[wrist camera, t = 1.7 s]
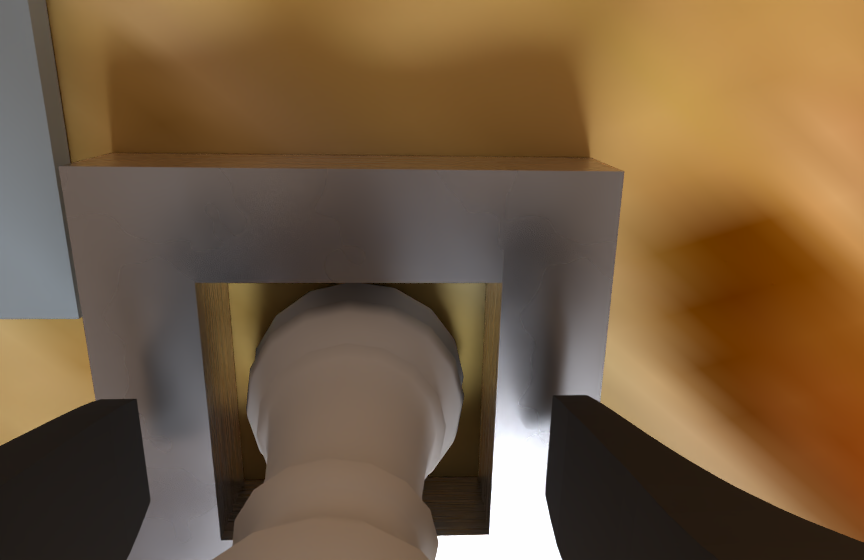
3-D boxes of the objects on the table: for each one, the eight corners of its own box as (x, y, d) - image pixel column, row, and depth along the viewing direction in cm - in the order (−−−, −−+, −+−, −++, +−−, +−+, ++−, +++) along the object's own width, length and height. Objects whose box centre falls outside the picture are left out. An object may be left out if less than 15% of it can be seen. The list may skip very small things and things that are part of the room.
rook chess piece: (492, 414, 14) (594, 787, 7) (315, 488, 15) (226, 920, 7) (409, 240, 13) (422, 461, 6) (218, 326, 14) (-16, 644, 6)
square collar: (556, 545, 16) (578, 610, 14) (165, 553, 15) (131, 622, 13) (590, 157, 13) (624, 171, 11) (111, 153, 12) (58, 166, 10)
